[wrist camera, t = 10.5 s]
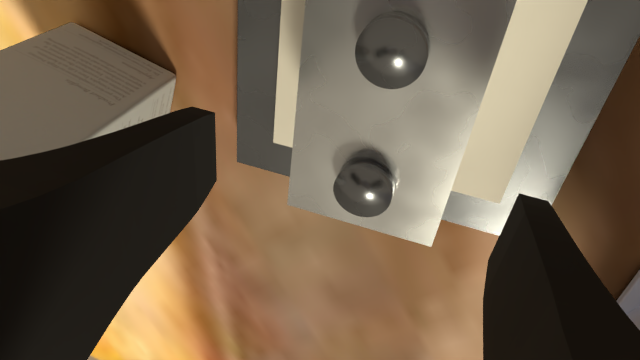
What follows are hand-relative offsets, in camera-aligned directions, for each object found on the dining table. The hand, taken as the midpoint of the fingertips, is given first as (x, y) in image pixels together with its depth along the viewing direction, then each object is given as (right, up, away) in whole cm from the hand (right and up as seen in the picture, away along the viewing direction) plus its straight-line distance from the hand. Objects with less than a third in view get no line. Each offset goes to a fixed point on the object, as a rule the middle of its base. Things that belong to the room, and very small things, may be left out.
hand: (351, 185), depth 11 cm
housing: (+2, +5, +6) cm, 8 cm away
